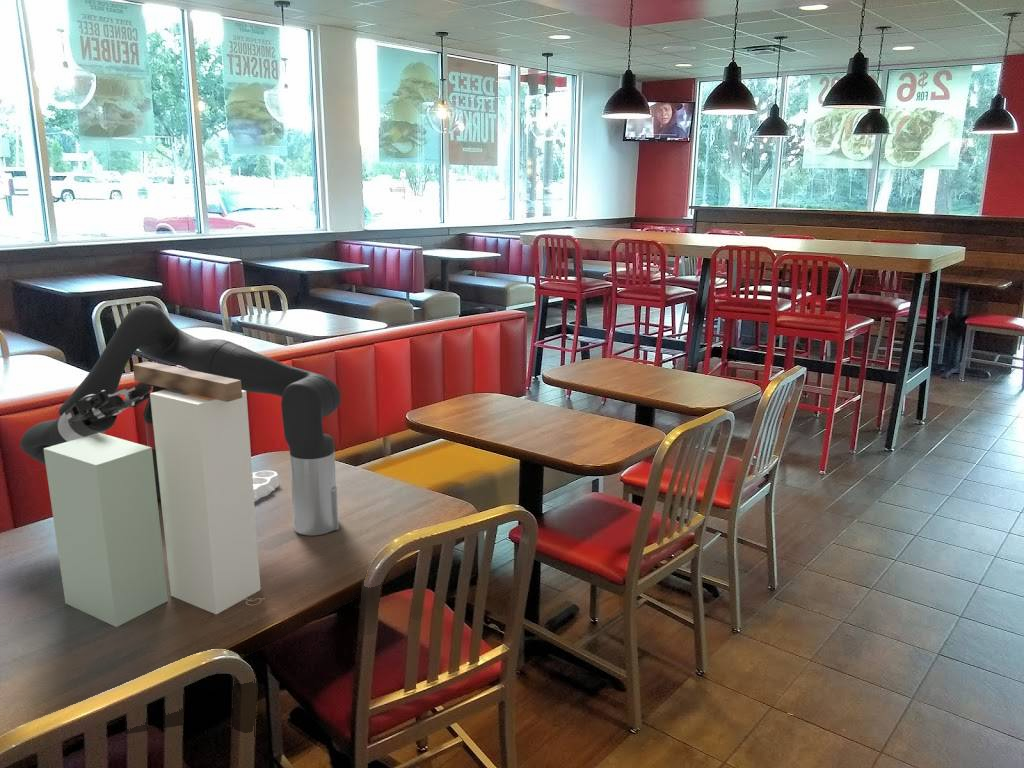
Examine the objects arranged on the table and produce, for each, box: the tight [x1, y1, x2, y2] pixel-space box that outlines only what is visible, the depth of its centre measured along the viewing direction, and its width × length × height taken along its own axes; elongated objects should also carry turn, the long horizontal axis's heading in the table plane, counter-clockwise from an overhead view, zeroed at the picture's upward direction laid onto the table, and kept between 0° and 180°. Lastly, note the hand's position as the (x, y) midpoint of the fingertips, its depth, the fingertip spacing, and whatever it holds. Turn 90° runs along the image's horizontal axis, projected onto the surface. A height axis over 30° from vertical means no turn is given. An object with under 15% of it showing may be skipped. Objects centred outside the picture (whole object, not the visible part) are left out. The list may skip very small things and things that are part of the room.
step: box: [43, 433, 169, 628], centre depth 138 cm, size 14×10×29 cm
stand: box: [149, 389, 262, 615], centre depth 140 cm, size 12×10×38 cm
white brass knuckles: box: [252, 470, 279, 503], centre depth 189 cm, size 3×18×15 cm
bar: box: [132, 361, 242, 402], centre depth 136 cm, size 24×3×3 cm, turn 60°
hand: (127, 389), depth 146 cm, fingers open, 8 cm apart
